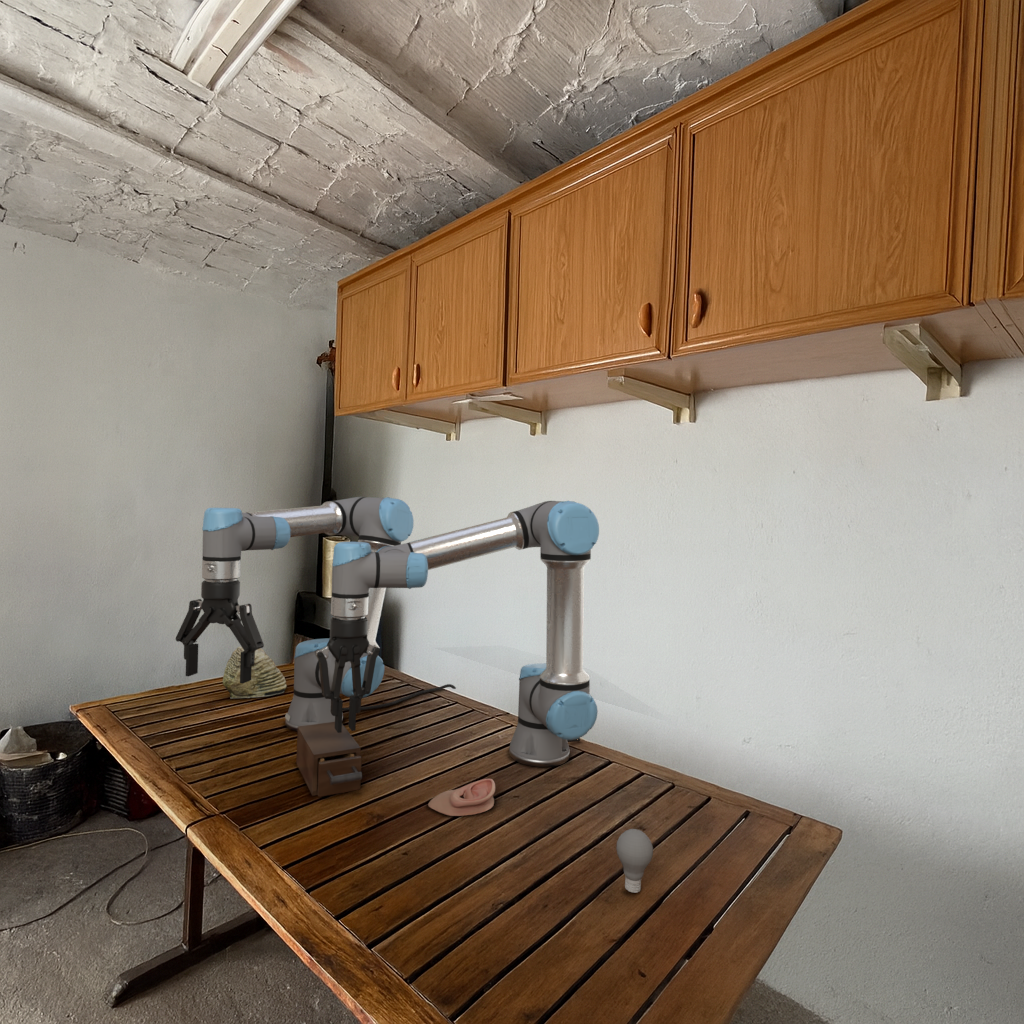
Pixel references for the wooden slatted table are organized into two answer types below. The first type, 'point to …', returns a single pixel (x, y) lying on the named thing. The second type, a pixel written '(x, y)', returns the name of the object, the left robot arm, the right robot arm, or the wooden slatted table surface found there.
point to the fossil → (253, 677)
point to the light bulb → (634, 857)
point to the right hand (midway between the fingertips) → (345, 729)
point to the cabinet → (321, 748)
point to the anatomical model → (466, 799)
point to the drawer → (338, 774)
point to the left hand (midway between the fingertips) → (218, 678)
